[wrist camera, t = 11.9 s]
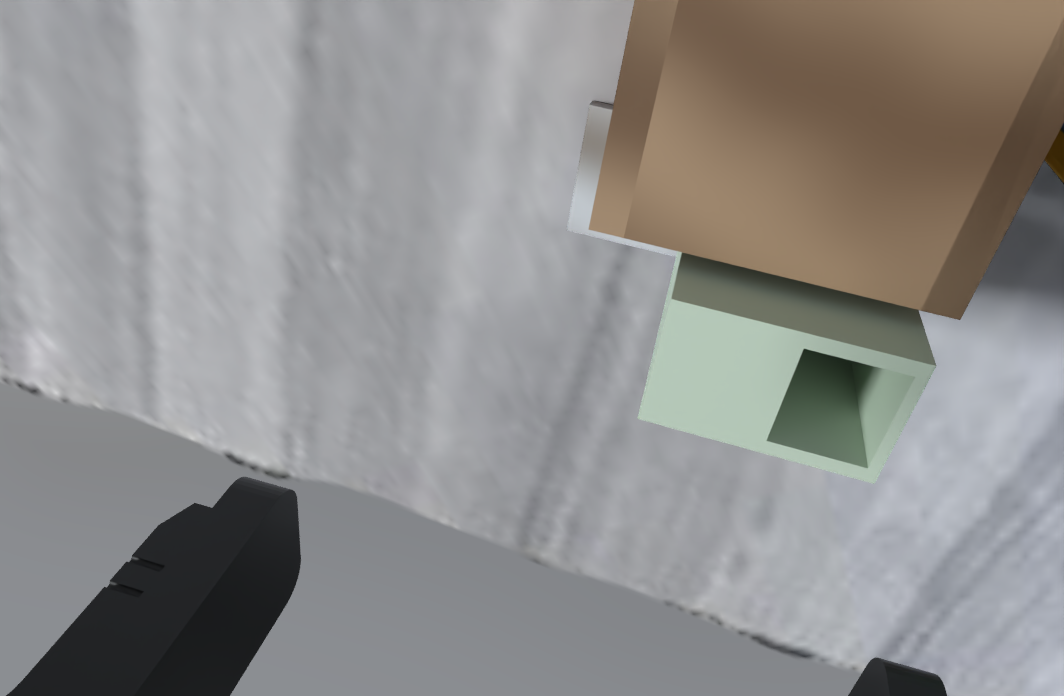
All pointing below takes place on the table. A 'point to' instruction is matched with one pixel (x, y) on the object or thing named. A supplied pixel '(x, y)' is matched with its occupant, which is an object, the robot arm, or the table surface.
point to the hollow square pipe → (785, 367)
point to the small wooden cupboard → (827, 138)
